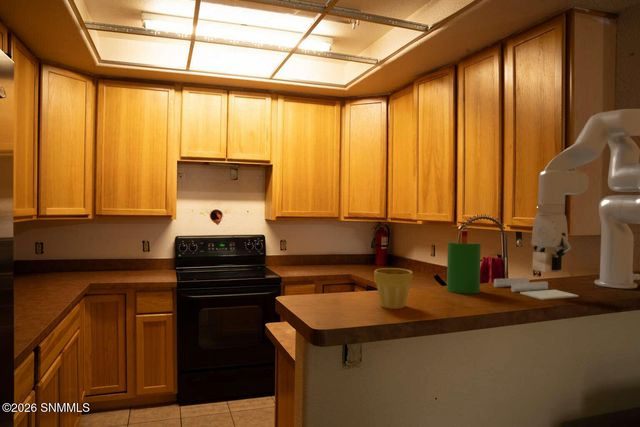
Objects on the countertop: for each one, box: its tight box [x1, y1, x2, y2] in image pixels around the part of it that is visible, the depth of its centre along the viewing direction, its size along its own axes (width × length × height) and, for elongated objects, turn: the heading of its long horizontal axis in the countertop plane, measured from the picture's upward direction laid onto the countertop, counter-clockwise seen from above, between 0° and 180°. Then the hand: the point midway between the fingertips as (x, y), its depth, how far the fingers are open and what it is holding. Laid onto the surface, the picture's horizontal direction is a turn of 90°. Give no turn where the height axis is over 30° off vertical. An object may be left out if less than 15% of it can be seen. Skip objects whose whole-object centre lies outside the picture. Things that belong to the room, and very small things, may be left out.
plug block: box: [531, 251, 559, 273], centre depth 143 cm, size 5×5×6 cm
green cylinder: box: [446, 229, 482, 295], centre depth 149 cm, size 10×9×20 cm
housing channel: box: [493, 276, 549, 293], centre depth 155 cm, size 14×9×2 cm
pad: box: [519, 289, 579, 301], centre depth 144 cm, size 14×9×1 cm, turn 109°
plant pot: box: [373, 267, 414, 310], centre depth 127 cm, size 10×10×10 cm
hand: (549, 268), depth 144 cm, fingers closed on plug block, 5 cm apart
